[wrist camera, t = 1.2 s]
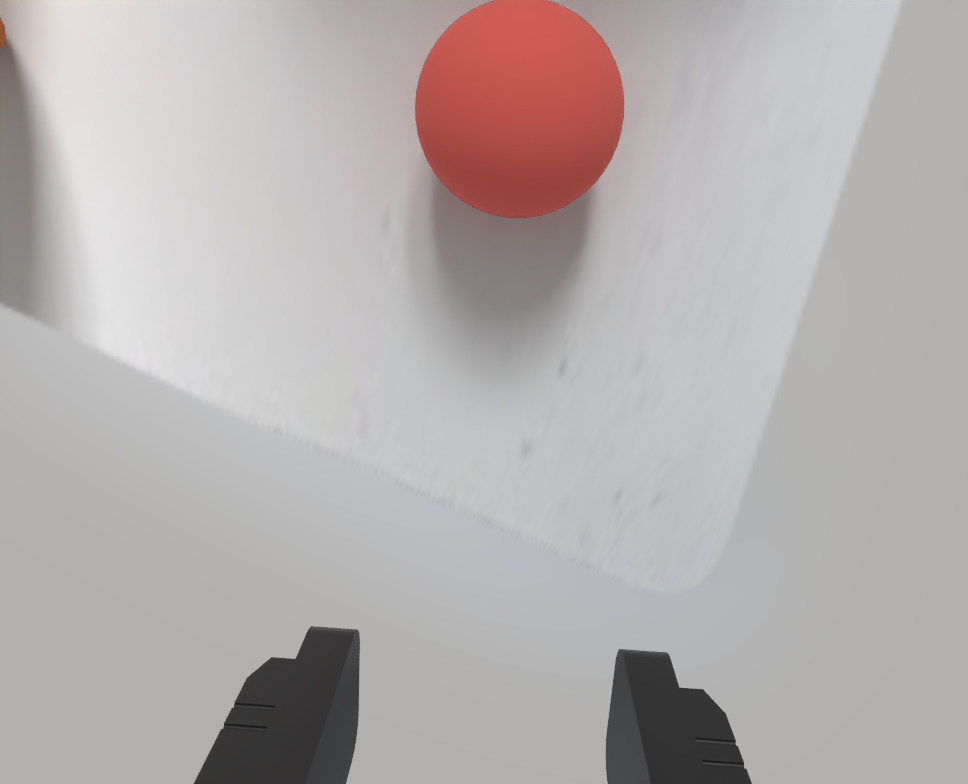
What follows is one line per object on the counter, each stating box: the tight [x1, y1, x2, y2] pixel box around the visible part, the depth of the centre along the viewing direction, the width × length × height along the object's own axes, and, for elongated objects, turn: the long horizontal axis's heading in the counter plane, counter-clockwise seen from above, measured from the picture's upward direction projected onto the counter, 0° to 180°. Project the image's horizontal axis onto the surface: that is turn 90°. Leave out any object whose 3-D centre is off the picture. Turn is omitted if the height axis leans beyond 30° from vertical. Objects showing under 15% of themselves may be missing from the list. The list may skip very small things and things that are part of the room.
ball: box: [415, 0, 624, 218], centre depth 23 cm, size 6×6×6 cm
